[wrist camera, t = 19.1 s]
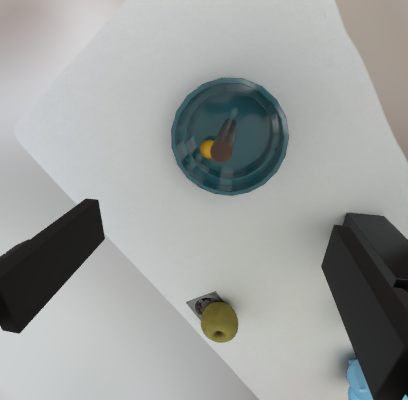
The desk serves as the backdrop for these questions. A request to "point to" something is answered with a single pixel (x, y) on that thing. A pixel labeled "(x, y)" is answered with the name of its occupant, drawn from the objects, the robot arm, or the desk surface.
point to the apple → (219, 322)
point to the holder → (382, 246)
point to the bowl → (244, 140)
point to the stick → (224, 142)
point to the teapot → (358, 383)
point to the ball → (206, 148)
